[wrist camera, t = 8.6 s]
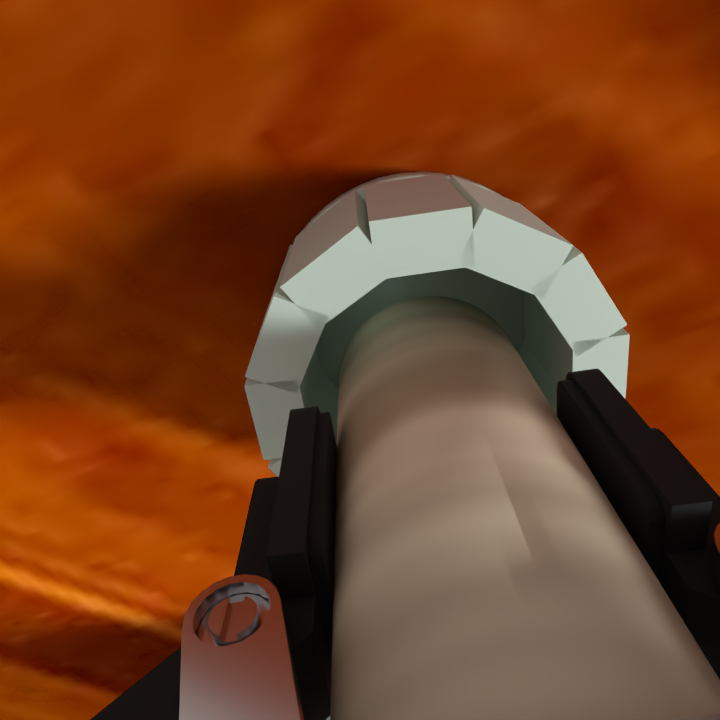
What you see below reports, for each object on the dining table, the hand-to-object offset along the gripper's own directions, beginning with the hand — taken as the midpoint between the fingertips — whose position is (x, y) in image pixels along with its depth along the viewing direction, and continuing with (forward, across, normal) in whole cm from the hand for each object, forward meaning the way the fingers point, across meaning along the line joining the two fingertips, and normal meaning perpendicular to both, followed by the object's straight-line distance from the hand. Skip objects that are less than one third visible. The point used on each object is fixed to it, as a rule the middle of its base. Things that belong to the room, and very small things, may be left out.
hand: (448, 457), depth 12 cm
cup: (+7, 0, 0) cm, 7 cm away
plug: (+3, 0, 0) cm, 3 cm away
